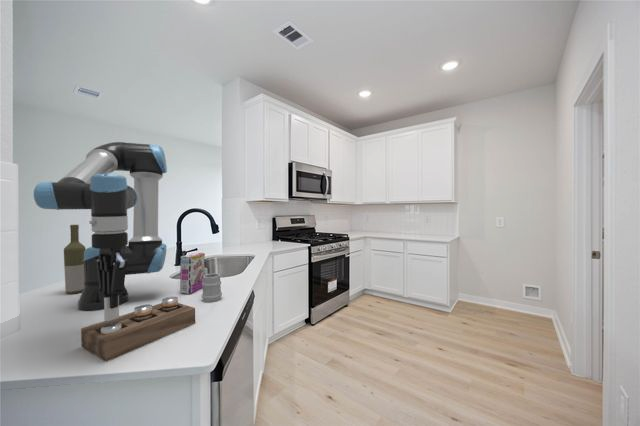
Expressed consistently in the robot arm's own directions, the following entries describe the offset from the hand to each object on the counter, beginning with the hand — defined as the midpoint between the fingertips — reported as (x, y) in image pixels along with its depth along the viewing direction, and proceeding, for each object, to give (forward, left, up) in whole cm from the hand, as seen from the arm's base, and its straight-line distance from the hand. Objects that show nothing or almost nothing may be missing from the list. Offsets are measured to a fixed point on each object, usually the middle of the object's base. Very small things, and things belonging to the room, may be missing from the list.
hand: (111, 318), depth 70 cm
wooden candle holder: (0, +8, -7) cm, 11 cm away
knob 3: (0, +16, -4) cm, 16 cm away
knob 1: (0, 0, -7) cm, 7 cm away
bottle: (-67, +14, -8) cm, 69 cm away
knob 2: (0, +8, -4) cm, 9 cm away
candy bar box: (-24, +41, -8) cm, 48 cm away
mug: (-9, +38, -8) cm, 40 cm away
